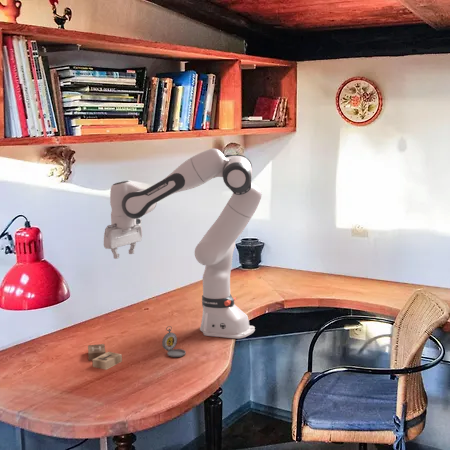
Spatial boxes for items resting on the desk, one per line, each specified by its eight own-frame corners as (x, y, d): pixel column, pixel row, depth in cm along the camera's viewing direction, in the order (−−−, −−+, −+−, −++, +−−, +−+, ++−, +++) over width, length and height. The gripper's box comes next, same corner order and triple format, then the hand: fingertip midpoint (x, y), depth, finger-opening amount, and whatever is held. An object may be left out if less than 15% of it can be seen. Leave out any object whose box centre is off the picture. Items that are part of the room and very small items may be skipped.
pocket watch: (183, 358, 221) (182, 331, 220) (160, 357, 223) (159, 330, 221) (188, 350, 229) (187, 324, 228) (166, 349, 231) (165, 323, 229)
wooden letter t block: (121, 354, 219) (105, 362, 212) (122, 362, 220) (106, 370, 213) (108, 351, 222) (92, 359, 215) (108, 359, 223) (92, 367, 216)
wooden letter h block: (104, 343, 230) (105, 351, 222) (104, 351, 231) (105, 359, 223) (87, 345, 229) (88, 353, 221) (88, 353, 230) (88, 361, 221)
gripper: (111, 226, 235) (113, 261, 238) (144, 218, 253) (145, 252, 255) (98, 225, 239) (100, 260, 241) (132, 218, 256) (133, 250, 258)
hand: (124, 256), depth 248 cm, fingers open, 8 cm apart
